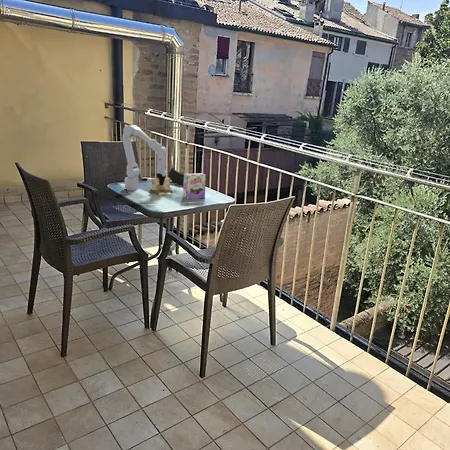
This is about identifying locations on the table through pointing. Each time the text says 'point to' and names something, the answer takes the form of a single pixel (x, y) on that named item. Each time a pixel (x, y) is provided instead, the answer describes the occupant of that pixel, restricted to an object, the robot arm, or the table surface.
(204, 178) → the candy box
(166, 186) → the wooden block
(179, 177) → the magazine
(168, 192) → the offcut top
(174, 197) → the table surface
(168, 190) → the frame
